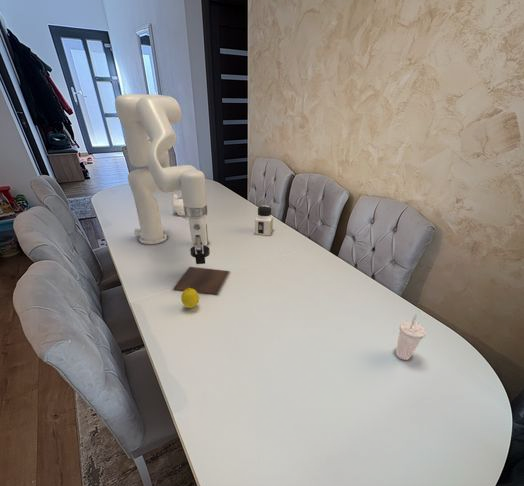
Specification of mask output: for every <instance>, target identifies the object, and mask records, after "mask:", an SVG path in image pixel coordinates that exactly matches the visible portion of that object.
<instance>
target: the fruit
mask: <svg viewBox="0 0 524 486" xmlns="http://www.w3.org/2000/svg"><path fill="white" fill-rule="evenodd" d="M180 299H181V303H182V305H184V307H186V308H187V309H193V308H195V307H196V306H197V305H198V304H199V301H200V295H199V293H197V292H196V290H194V289H191V288H187V289H186V290H184V291H183V292H182V293H181V296H180Z"/></svg>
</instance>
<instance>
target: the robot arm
mask: <svg viewBox="0 0 524 486" xmlns="http://www.w3.org/2000/svg"><path fill="white" fill-rule="evenodd" d="M114 106H115V107H114V109H115V113H116V116H117V117H118V118H117V119H118V120H119V122H120V124H121V126H122V129H123V133H124V139H125V144H126V151H127V157H128V160H129V163H130V164H131V166H133V167H136V168H137V169H134V170H131V171H130V172H129V173H128V175H127V181H128V182H127V183H128V185H129V188H130V190H131V192H132V196H133V200H134V203H135V208H136V214H137V217H138V223H139V228H134V229H133V230H134V231H133V232H134V233H133V234H134V235H138V239H139V242H140V243H141V244H144V245H157V244H160V243H163V242H165V241H166V240H167V239H168V235H167V234H166V233H165V232H164V231H163V224H162V218H161V213H160V206H159V201H158V200H157V198H156V197H155V196H154V195H153V194H152V192H156V191H157V192H159V191H161V192H163V193H175V192H179V191H181V197H182V198H183V206H184V214H185V215H184V217H185V218H187V219H188V223H189V231H190V237H191V244H192V247H195V257H194V258H195V259H194V260H195V264H196V265H204V264H206V257H205V253H204V250H203V245H205V246H208V245H207V233H208V232H207V233H206V224H207V221H206V217H207V216H208V214H209V212H208V200H207V188H206V187H207V186H206V177H205V174H204V172H203V171H202V170H198V169H197V168H196V167H195V166H193V165H190V164H183V165H174V166H171V165H170V156H169V150H170V149H172V148H173V147H174V145H176V142H177V134H176V132H175V131H174V128H173V126H172V125H177V124H179V123H181V121H182V117H183V116H182V108H181V106H180V104H179V102H178V101H177V100H176V99H175V98H174V97H173V96H170V95H163V94H149V93H148V94H147V93H145V94H143V93H127V94H126V93H125V94H119V95H118V96H117V97H116V98H115V100H114ZM205 221H206V222H205ZM201 247H202V249H201Z"/></svg>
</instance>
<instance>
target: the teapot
mask: <svg viewBox="0 0 524 486" xmlns="http://www.w3.org/2000/svg"><path fill="white" fill-rule="evenodd" d="M172 196H173V199H172V201H171V207H172V209H173V210H174V212H176V214H177V216H181V217H183V216H185V214H184V206H183V198H182V195H179V196H178V195H177V193H175V192H173V193H172Z"/></svg>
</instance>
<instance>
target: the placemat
mask: <svg viewBox="0 0 524 486" xmlns="http://www.w3.org/2000/svg"><path fill="white" fill-rule="evenodd" d="M229 273H230V272H229V270H223V269H222V270H221V269H213V268H202V267H195V266H189V267H188V269H187V270H186V272H185V273H184V274H183V275H182V277H181V278H180V279H179V280H178V282H177V283H176V285H175V286H174V287H173V290H174V291H184V290H186V289H187V288H191V289H194V290H196V292H197V293H198V294H207V295H215V296H217V295H218V294H219V292H220V291H221V288H222V286H223V285H224V283H225V281H226V278H227V276H228V274H229Z"/></svg>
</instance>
